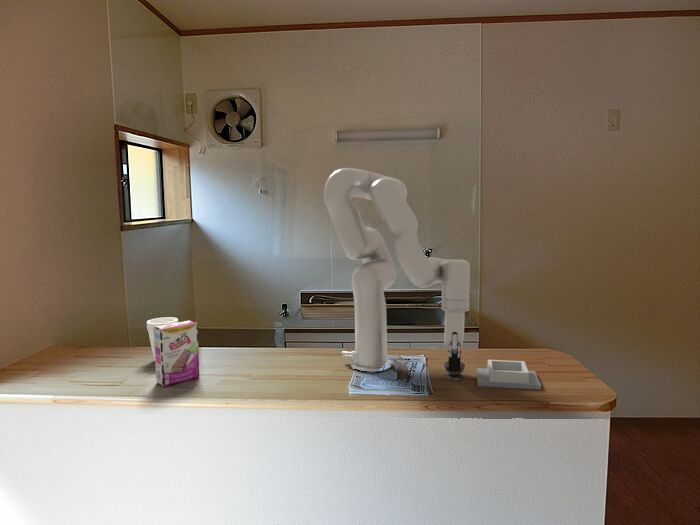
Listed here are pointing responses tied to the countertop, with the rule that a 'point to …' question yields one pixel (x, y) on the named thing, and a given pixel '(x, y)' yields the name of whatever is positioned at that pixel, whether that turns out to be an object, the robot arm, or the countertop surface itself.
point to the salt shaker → (452, 374)
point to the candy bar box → (176, 352)
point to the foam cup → (158, 322)
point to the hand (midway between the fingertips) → (454, 366)
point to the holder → (507, 375)
